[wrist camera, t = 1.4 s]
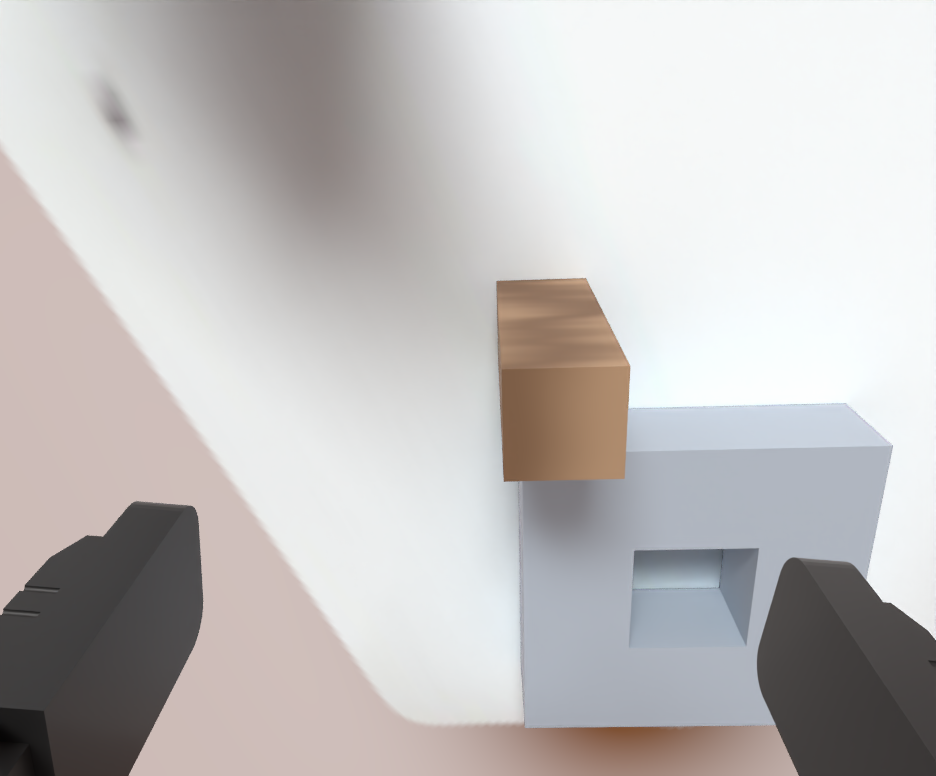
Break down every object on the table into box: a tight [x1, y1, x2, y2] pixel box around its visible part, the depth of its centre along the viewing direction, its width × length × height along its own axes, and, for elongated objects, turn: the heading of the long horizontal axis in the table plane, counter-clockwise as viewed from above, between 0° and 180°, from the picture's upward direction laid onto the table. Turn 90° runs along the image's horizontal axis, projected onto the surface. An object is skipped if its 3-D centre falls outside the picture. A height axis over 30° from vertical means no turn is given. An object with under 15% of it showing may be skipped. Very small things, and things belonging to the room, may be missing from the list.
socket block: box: [519, 403, 893, 728], centre depth 33 cm, size 14×14×4 cm
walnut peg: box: [497, 278, 630, 482], centre depth 26 cm, size 4×4×10 cm
